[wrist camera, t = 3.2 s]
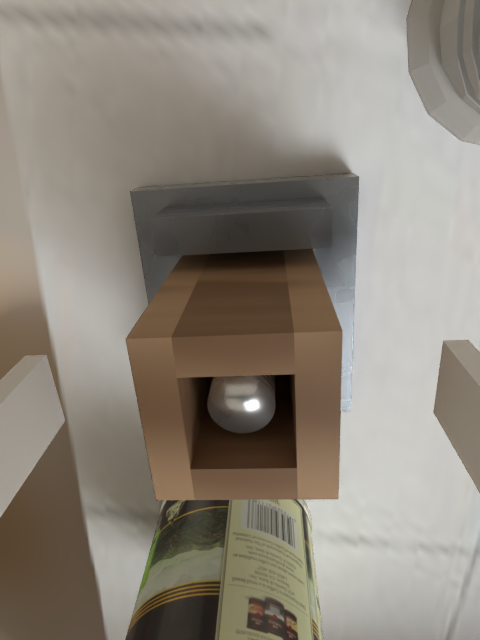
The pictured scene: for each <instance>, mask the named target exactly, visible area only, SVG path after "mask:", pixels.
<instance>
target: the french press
mask: <svg viewBox="0 0 480 640" xmlns="http://www.w3.org/2000/svg"><path fill="white" fill-rule="evenodd" d="M407 38H408V62H409V73H410V76H411V78H412V80H413V82H414V84H415V86H416V89H417V91H418V93H419V95H420V97H421V99H422V102H423V104H424V106H425V108H426V110H427V112H428V114H429V115H430V116H431V117H432V118H434V119H435V120H436V121H437V122H438V123H440V124H441V125H442V126H443V127H445V128H446V129H447V130H448V131H450V132H451V133H452V134H453V135H454V136H456V137H457V138H458V139H459V140H461V141H464V142H468V143H473V144H477V145H480V0H412V3H411V6H410V10H409V13H408V16H407Z"/></svg>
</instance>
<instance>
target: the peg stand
mask: <svg viewBox="0 0 480 640" xmlns="http://www.w3.org/2000/svg"><path fill="white" fill-rule="evenodd" d="M358 190H359V176H357V175H355V174H353V173H349V174H334V175H318V176H303V177H288V178H273V179H258V180H242V181H227V182H212V183H197V184H182V185H167V186H151V187H139V188H137V189H134V190H132V191H130V193H131V199H132V205H133V211H134V217H135V224H136V230H137V236H138V242H139V248H140V254H141V261H142V267H143V273H144V279H145V285H146V291H147V298H148V304H150V302H151V301H152V299H153V298H154V296H155V295H156V293H157V292H158V290H159V289H160V287H161V286H162V285H163V283H164V282H165V280H166V279H167V277H168V276H169V274H170V273H171V271H172V270H173V268H174V267H175V265H176V264H177V262H178V261H179V259H180V258H181V257H182V255H200V254H219V253H238V252H257V251H276V250H295V249H313V252H314V255H315V258H316V260H317V263H318V266H319V268H320V271H321V274H322V276H323V279H324V282H325V285H326V287H327V290H328V293H329V295H330V298H331V301H332V304H333V306H334V309H335V312H336V314H337V317H338V320H339V322H340V325H341V328H342V331H343V337H342V376H341V411H350V407H351V380H352V353H353V326H354V299H355V272H356V244H357V217H358ZM207 405H208V411H209V414H210V416H211V417H212V419H213V420H214V421H215V422H216V423H217V424H218V425H219V426H220V427H222V428H224V429H226V430H228V431H231V432H234V433H251V432H255V431H257V430H260V429H261V428H263V427H265V426H266V425H267V424H268V423H269V422H270V421H271V419H272V417H273V415H274V413H275V375H254V376H220V377H213V378H212V383H211V387H210V392H209V396H208V402H207Z"/></svg>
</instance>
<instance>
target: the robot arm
mask: <svg viewBox="0 0 480 640" xmlns="http://www.w3.org/2000/svg"><path fill="white" fill-rule="evenodd" d="M434 414H435V416H436V417H437V419H438V421H439V423H440V424H441V426H442V428H443V429H444V431H445V433H446V435H447V436H448V438H449V440H450V442H451V443H452V445H453V447H454V449H455V450H456V452H457V454H458V456H459V457H460V459H461V461H462V463H463V464H464V466H465V468H466V470H467V471H468V473H469V475H470V477H471V478H472V480H473V482H474V484H475V485H476V487H477V489H478V491H479V492H480V352H479V351H478V350H477V349H476V348H475V347H474V346H473V345H472V343H471V342H470V341H469V340H450V341H443V346H442V353H441V361H440V368H439V376H438V383H437V390H436V398H435V405H434ZM64 422H65V418H64V414H63V411H62V407H61V404H60V401H59V397H58V393H57V390H56V387H55V383H54V379H53V376H52V372H51V369H50V365H49V362H48V358H47V355H30V356H24V357H23V359H21V360H20V361H19V362H18V363H17V364H16V365H15V366H14V367H13V368H12V369H11V370H10V371H9V372H8V373H7V374H6V375H5V376H4V377H3V378H2V379H1V380H0V517H1V516H2V514H3V513H4V511H5V510H6V508H7V507H8V505H9V504H10V502H11V501H12V499H13V498H14V496H15V495H16V493H17V492H18V490H19V489H20V488H21V486H22V485H23V483H24V482H25V480H26V479H27V477H28V476H29V474H30V473H31V471H32V470H33V468H34V467H35V465H36V463H37V462H38V461H39V459H40V458H41V456H42V455H43V453H44V452H45V450H46V448H47V447H48V446H49V444H50V443H51V441H52V440H53V438H54V437H55V435H56V434H57V432H58V431H59V429H60V428H61V426H62V425H63V423H64Z"/></svg>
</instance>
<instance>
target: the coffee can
mask: <svg viewBox="0 0 480 640" xmlns="http://www.w3.org/2000/svg"><path fill="white" fill-rule="evenodd" d="M311 533H312V524H311V516H310V512H309V510H308V507H307V505H306V503H305V502H304V500H303V499H282V500H163V502H162V505H161V508H160V512H159V519H158V523H157V527H156V531H155V535H154V538H153V542H152V546H151V549H150V553H149V557H148V560H147V564H146V568H145V571H144V575H143V579H142V582H141V586H140V589H139V593H138V597H137V600H136V604H135V608H134V611H133V615H132V619H131V622H130V625H129V629H128V633H127V636H126V640H323V633H322V624H321V614H320V607H319V598H318V589H317V580H316V571H315V563H314V553H313V544H312V535H311Z"/></svg>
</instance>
